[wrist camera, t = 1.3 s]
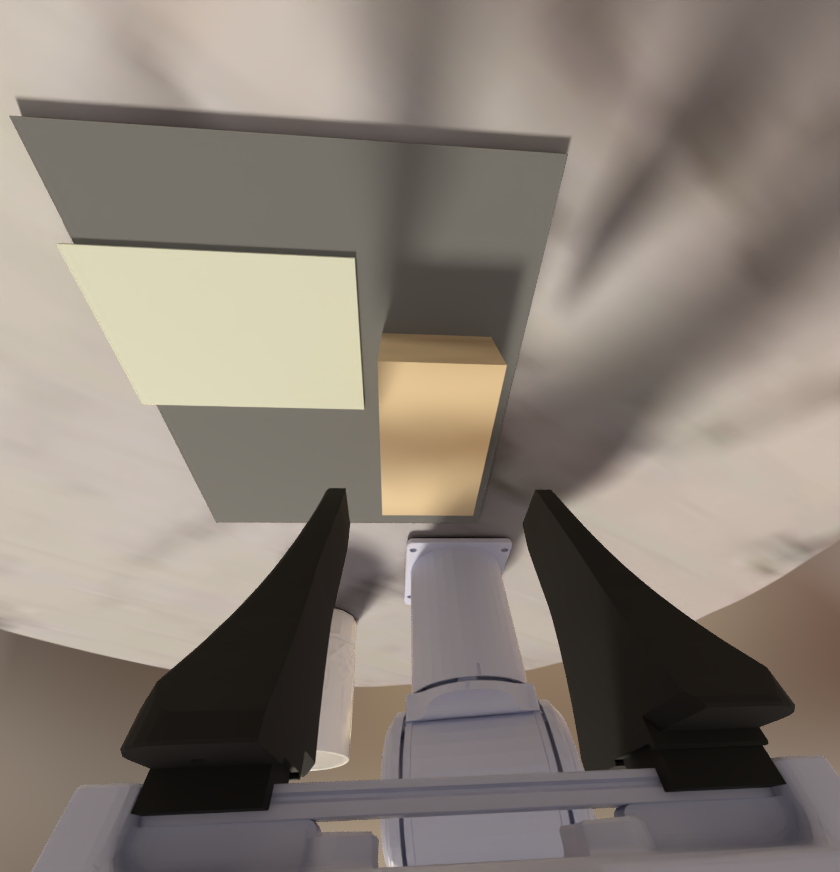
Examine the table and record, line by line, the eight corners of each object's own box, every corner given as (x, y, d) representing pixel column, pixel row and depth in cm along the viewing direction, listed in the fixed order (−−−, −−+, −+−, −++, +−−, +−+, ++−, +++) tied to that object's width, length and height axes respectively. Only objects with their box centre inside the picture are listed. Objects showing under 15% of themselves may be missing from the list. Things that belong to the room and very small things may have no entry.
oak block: (465, 477, 21) (473, 515, 18) (384, 476, 20) (382, 515, 18) (491, 337, 15) (507, 365, 13) (381, 333, 15) (377, 361, 13)
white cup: (310, 593, 29) (275, 745, 21) (378, 619, 33) (370, 758, 25) (266, 623, 33) (220, 765, 25) (332, 644, 36) (311, 774, 28)
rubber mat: (476, 518, 24) (478, 525, 23) (211, 517, 23) (207, 524, 22) (563, 154, 12) (570, 153, 11) (4, 116, 11) (-15, 113, 10)
